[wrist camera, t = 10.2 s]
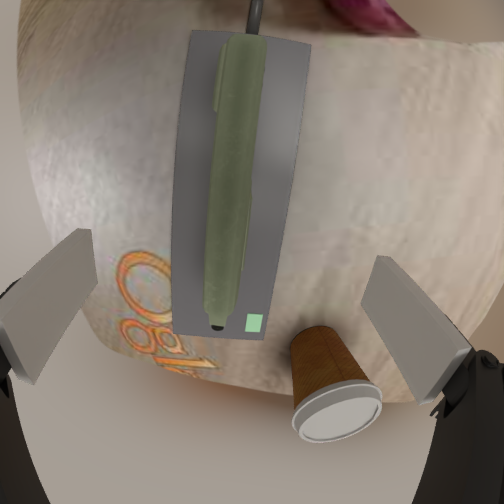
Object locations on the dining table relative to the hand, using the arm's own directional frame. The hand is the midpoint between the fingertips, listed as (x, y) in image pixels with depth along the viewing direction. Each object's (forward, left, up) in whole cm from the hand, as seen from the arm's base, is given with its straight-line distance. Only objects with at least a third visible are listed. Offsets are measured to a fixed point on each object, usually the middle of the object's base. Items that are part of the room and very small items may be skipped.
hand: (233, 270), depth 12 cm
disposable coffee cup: (+17, +12, -15) cm, 26 cm away
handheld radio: (0, 0, -13) cm, 13 cm away
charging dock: (-4, 0, -14) cm, 15 cm away
